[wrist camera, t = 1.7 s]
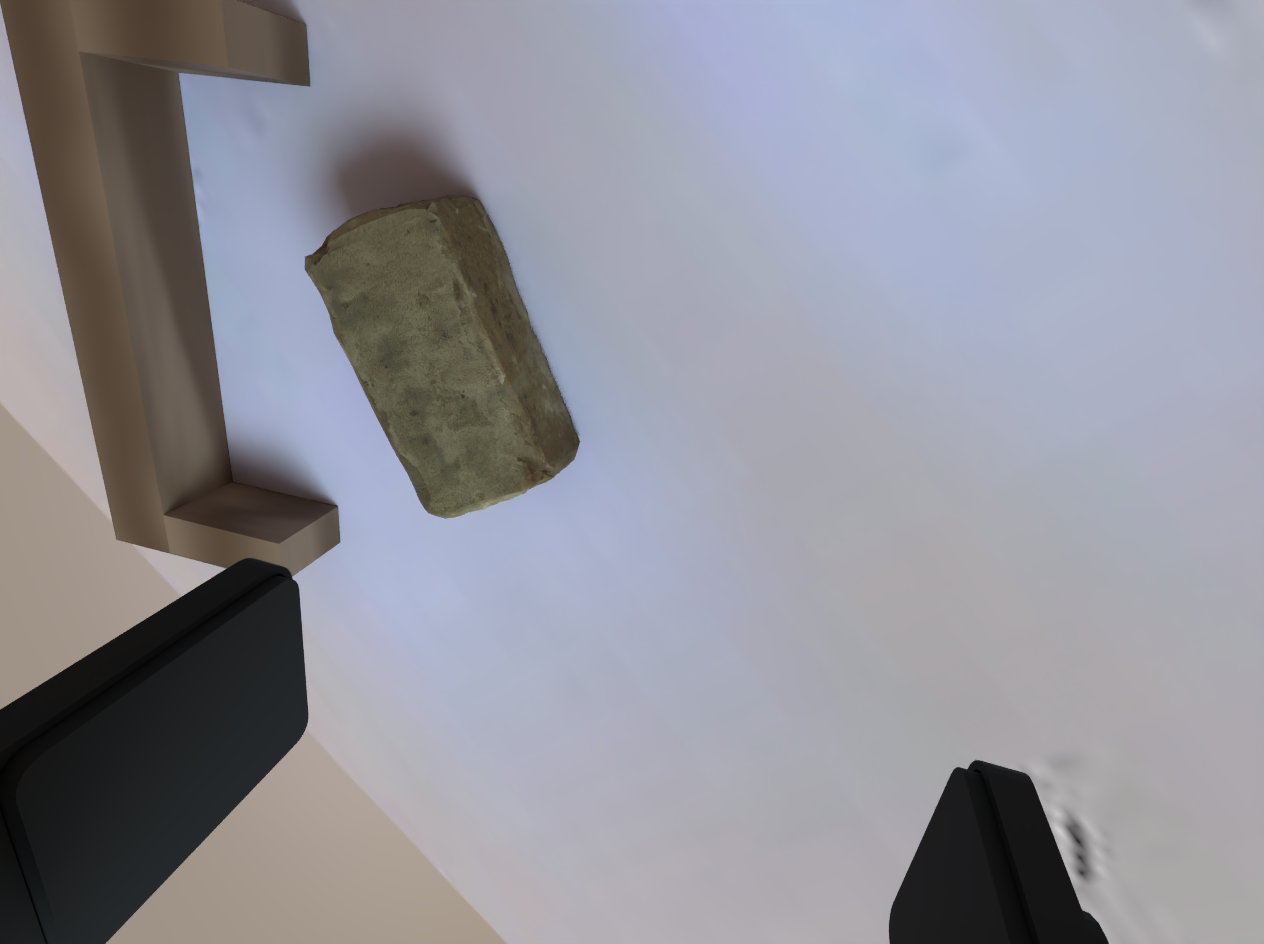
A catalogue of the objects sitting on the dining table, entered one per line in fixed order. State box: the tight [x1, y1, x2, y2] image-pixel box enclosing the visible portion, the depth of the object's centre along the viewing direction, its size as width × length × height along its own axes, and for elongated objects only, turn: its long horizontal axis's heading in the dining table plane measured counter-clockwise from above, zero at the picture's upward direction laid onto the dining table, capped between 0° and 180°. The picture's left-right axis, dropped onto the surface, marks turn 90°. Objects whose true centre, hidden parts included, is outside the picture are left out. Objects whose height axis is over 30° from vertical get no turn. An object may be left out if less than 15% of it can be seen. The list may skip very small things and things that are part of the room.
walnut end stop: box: [0, 0, 340, 576], centre depth 28 cm, size 9×22×4 cm, turn 173°
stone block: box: [305, 195, 580, 518], centre depth 26 cm, size 6×12×5 cm, turn 22°
